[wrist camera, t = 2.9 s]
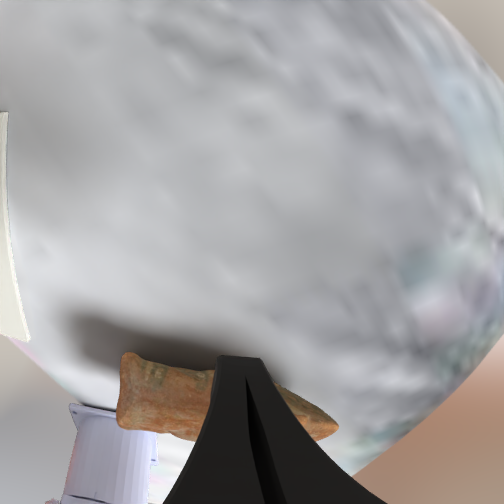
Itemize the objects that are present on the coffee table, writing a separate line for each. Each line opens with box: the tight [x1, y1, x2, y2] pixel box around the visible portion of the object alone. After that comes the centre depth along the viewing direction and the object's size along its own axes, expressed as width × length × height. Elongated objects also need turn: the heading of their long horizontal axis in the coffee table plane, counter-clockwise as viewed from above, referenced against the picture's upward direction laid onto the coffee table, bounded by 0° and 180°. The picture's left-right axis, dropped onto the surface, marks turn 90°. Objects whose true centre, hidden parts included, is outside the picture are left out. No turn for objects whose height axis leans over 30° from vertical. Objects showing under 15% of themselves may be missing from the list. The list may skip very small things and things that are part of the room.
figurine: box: [116, 352, 339, 442], centre depth 19 cm, size 8×8×15 cm
